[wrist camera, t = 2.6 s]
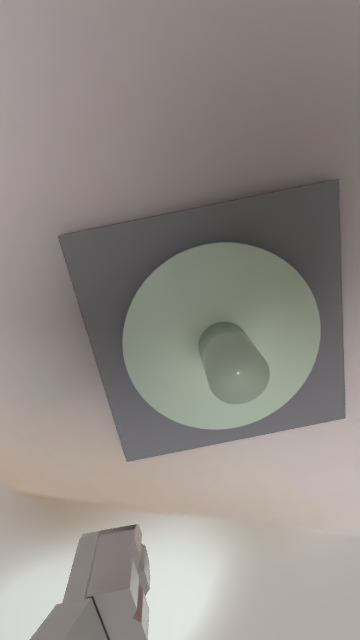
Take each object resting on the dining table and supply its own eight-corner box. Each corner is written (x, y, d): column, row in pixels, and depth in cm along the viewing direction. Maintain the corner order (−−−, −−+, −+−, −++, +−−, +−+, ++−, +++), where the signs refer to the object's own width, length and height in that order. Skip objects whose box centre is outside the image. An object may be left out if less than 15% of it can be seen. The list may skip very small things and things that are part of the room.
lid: (101, 264, 18) (80, 281, 13) (304, 222, 18) (359, 223, 13) (148, 433, 22) (145, 496, 17) (316, 399, 22) (362, 451, 17)
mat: (60, 235, 18) (57, 235, 17) (332, 180, 18) (338, 178, 17) (127, 455, 23) (126, 461, 22) (340, 413, 23) (345, 418, 22)
